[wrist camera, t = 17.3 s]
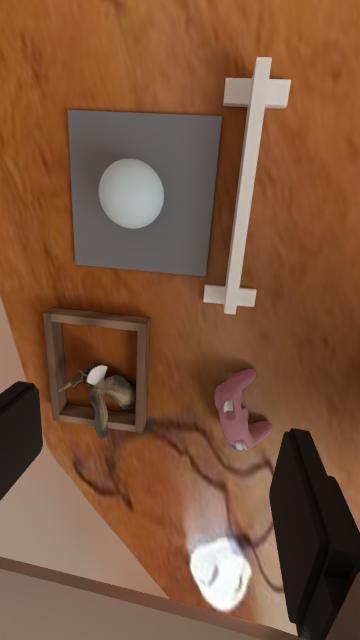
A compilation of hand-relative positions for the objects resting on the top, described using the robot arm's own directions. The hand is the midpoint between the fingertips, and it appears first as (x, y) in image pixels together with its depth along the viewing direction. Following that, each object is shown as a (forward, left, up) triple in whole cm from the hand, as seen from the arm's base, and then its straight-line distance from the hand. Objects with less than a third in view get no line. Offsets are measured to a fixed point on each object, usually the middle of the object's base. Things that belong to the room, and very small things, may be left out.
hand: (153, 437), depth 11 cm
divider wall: (-4, -10, -26) cm, 28 cm away
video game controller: (-8, +15, -26) cm, 31 cm away
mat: (+7, -10, -26) cm, 28 cm away
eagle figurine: (+11, +15, -26) cm, 32 cm away
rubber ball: (+7, -10, -25) cm, 28 cm away
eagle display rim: (+12, +12, -26) cm, 31 cm away
